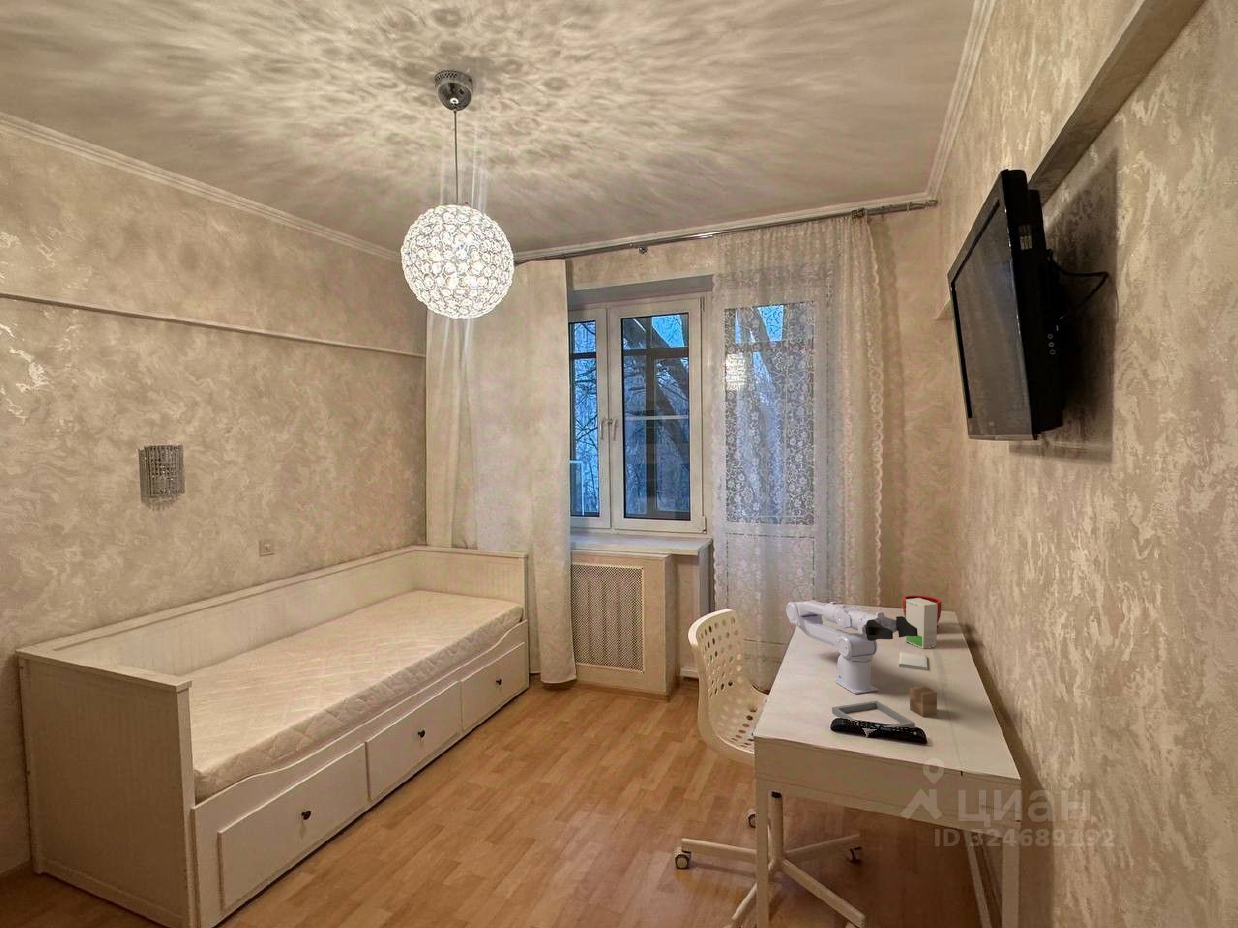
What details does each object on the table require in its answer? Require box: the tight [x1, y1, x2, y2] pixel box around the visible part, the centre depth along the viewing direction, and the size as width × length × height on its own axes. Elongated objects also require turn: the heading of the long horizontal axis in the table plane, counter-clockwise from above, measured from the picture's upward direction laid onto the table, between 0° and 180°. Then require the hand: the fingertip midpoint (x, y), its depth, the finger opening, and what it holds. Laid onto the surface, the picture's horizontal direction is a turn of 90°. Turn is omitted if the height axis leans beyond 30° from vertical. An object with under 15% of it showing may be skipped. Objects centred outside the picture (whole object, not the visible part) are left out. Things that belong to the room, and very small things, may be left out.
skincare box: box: [904, 598, 938, 650], centre depth 212 cm, size 8×7×16 cm
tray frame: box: [831, 700, 916, 738], centre depth 155 cm, size 14×14×2 cm
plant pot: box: [902, 595, 943, 631], centre depth 228 cm, size 13×13×12 cm
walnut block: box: [909, 685, 938, 718], centre depth 159 cm, size 4×4×6 cm
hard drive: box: [898, 651, 929, 671], centre depth 195 cm, size 2×8×12 cm
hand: (904, 633), depth 157 cm, fingers open, 7 cm apart
